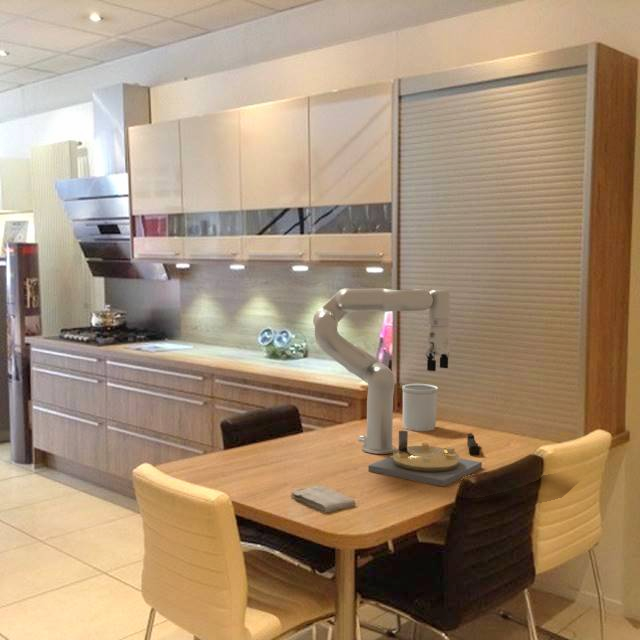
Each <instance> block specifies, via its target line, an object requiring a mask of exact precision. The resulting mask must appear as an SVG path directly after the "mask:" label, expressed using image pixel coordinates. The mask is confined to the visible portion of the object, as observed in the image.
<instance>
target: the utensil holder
mask: <svg viewBox="0 0 640 640" xmlns="http://www.w3.org/2000/svg"><path fill="white" fill-rule="evenodd" d="M438 391H439V388H438V386H436V385H433V384H426V383H408V384H404V385H402V428H403V429H405V430H407V431H412V430H414V432H431V431H434V430H435V429H436V423H437V422H436V421H437V405H438V404H437V403H438ZM430 430H431V431H430Z"/></svg>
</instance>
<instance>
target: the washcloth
mask: <svg viewBox="0 0 640 640" xmlns="http://www.w3.org/2000/svg"><path fill="white" fill-rule="evenodd" d="M290 498H291V499H293V500H295V501H296V502H298V503H300V504H303V505H305V506H307V507H308V508H309V507H310V508H311V509H314V510H316V511H318V512H320V513H326V514H327V513H331V512H334V511H337V510H344V509H346V508H347V509H348V508H352V507H355V506H356V504H357V503H356V500H355V499H354V498H352V497H349V496H347V495H344V494H343V493H342V492H341V493H340V492H338V491H336V490H334V489H331V488H329V487H326V486H324V485H320V484H319V485H314V486H312V487H309V488H308V487H307V488H305V487H304V488H300V489H296V490H293V491H291V494H290Z"/></svg>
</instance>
